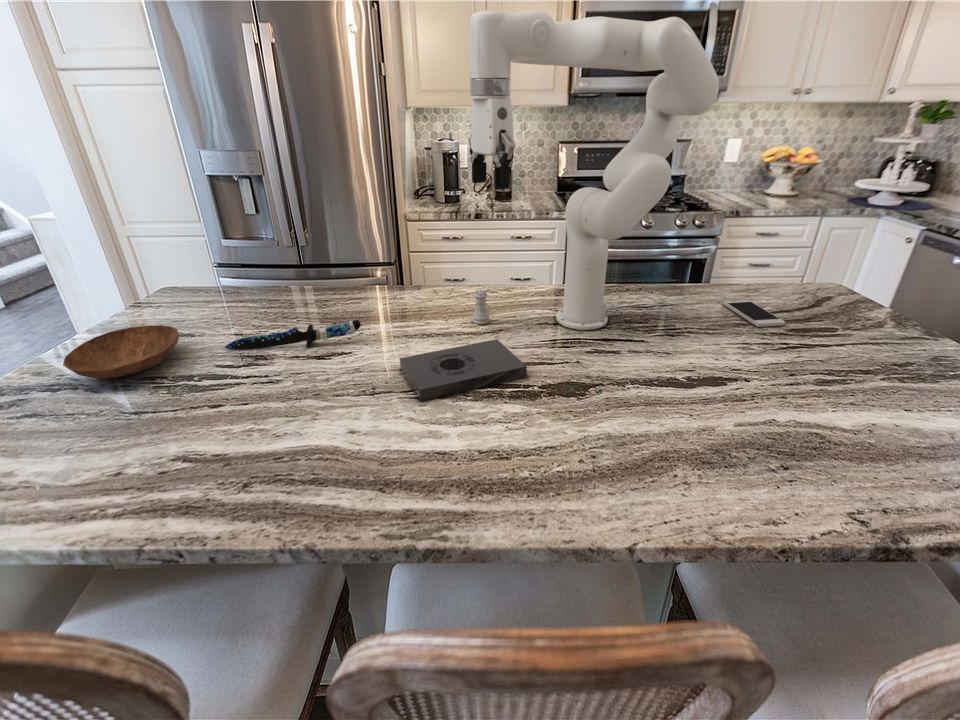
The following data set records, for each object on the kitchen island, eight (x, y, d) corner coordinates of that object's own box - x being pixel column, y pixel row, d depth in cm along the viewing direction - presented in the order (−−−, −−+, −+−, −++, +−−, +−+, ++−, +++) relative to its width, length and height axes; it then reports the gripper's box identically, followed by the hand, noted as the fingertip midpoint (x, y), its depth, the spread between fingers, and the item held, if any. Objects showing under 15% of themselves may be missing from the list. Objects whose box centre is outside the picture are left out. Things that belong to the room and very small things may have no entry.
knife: (364, 335, 115) (359, 317, 113) (362, 340, 112) (357, 322, 110) (234, 352, 115) (227, 335, 113) (228, 358, 113) (221, 340, 111)
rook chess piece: (488, 325, 122) (488, 294, 119) (470, 324, 123) (469, 293, 119) (491, 318, 126) (491, 288, 122) (474, 317, 127) (473, 287, 123)
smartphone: (757, 327, 119) (758, 323, 118) (722, 304, 132) (723, 300, 132) (785, 325, 119) (786, 321, 119) (747, 302, 133) (748, 299, 133)
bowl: (198, 341, 117) (192, 321, 115) (161, 387, 98) (153, 365, 95) (106, 348, 114) (98, 328, 112) (50, 397, 95) (39, 374, 92)
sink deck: (497, 349, 110) (497, 339, 109) (526, 377, 99) (526, 366, 98) (400, 368, 103) (399, 358, 102) (420, 401, 91) (419, 390, 90)
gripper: (531, 89, 89) (528, 189, 97) (486, 91, 103) (486, 179, 110) (494, 89, 86) (494, 192, 94) (453, 91, 100) (455, 181, 107)
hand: (490, 185), depth 102 cm, fingers open, 9 cm apart
